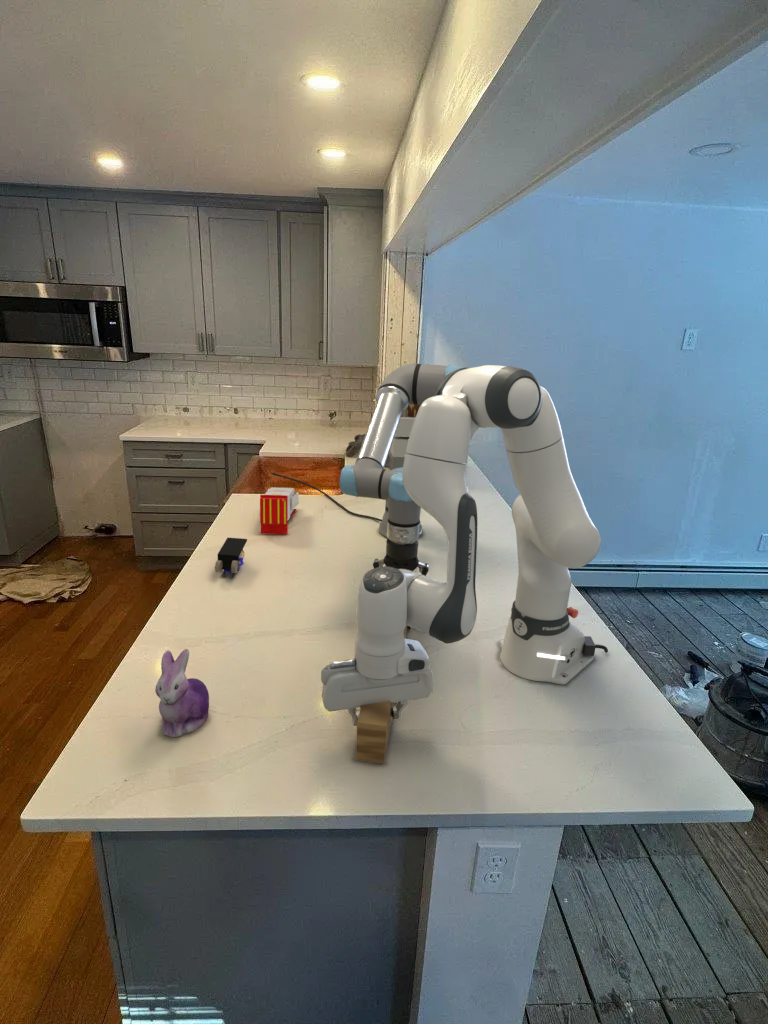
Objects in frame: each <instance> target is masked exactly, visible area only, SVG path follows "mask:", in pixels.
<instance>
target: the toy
mask: <svg viewBox="0 0 768 1024" xmlns="http://www.w3.org/2000/svg"><path fill="white" fill-rule="evenodd" d="M299 494H300V493H299V491H297V492H296V493H295V488H294V487H270V488H269V489H268V490H267V491H266V492H265V493H264V494H259V520H260V521H259V524H260V534H266V535H272V534H273V535H288V534H289V532H288V531H289V530H288V527H289V524H288V523H289V522H288V521H289V519H290V518H292V517H293V516H294V514H295V513H296V511H297V506H298V505H299V503H300V496H299Z"/></svg>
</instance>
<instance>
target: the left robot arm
mask: <svg viewBox="0 0 768 1024" xmlns="http://www.w3.org/2000/svg"><path fill="white" fill-rule="evenodd" d="M461 368H463V367H462V366H454V365H452V364H447V365H441V364H427V363H417V362H413V363H406V364H404V365H401V366H399V367H397V368H396V369H394V370H393V371H391V372H390V373H389V374H388V375H387V376H386V377H385V378H384V379H383V380H382V382H381V383H380V385H379V387H378V389H377V391H376V393H375V401H376V404H375V407H374V410H373V412H372V415H371V418H370V421H369V424H368V427H367V430H366V432H365V434H366V435H365V437H364V440H363V443H362V446H361V448H360V451H359V452H358V453H357V456H356V460H355V463H354V464H351V465H350V464H349V465H344V467H342V469H341V472H340V475H339V489H340V491H341V493H342V494H344V495H347V496H351V497H355V498H366V499H367V498H368V499H375V500H376V499H378V500H384V501H385V504H384V505H385V507H384V508H385V509H384V513H383V515H382V519H381V518H378V517H375V516H370V515H365V514H361V513H356V512H353V511H351V510H349V509H347V508H346V507H345V506H344V505H342V504H341V503H339V502H338V501H337V500H335V499H334V498H333V497H332V496H331V495H329V494H327V493H326V492H324V491H323V490H321V489H319V488H317V487H316V486H314V485H311V484H309V483H307V482H304V481H301V480H299V479H295V478H292V477H289V476H285V475H281V474H279V473H274V472H271V475H273V476H276V477H279V478H283V479H287V480H290V481H293V482H297V483H300V484H302V485H305V486H308V487H309V488H312V489H313V490H316V491H318V492H319V493H321V494H323V495H324V496H325V497H327V499H329V500H330V501H332V502H333V503H335V505H337V506H338V507H340V508H341V509H343V510H344V511H345V512H347V513H348V514H350V515H352V516H356V517H361V518H365V519H366V518H367V519H371V520H374V521H378V522H379V526H378V533H379V534H380V535H381V536H382V537H385V538H386V542H385V543H386V544H385V545H386V547H385V555H384V557H383V558H380V559H379V558H374V560H373V563H372V567H373V569H374V568H377V567H384V565H385V566H386V567H393V568H396V569H406V570H410V571H413V572H415V570H416V569H418V573H419V574H422V575H425V576H427V575H428V573H429V570H430V564H429V563H426V562H425V563H422V562H420V560H419V557H418V554H419V538H420V537H421V536H422V535H423V525H422V524H421V511H422V510H421V509H422V508H421V507H419V506H418V505H417V504H416V503H415V502H414V501H413V500H412V499H411V497H410V496H409V495H408V493H407V491H406V489H405V487H404V485H403V477H402V474H403V467H401V468H396V469H393V470H390V469H385V467H386V466H385V464H386V461H387V458H388V455H389V451H390V448H391V445H392V442H393V439H394V436H395V433H396V430H397V427H398V424H399V420H400V417H401V414H402V412H403V411H405V410H406V409H407V407H408V405H409V404H414V405H421V404H422V403H423V402H424V401H425V400H426V399H428V398H430V397H433V396H434V395H435V394H436V393H437V390H438V387H439V385H440V383H441V382H442V380H443V379H444V378H445V376H447V375H448V374H449V373H451V372H452V371H455V370H457V369H461ZM407 630H411V627H409V626H407Z"/></svg>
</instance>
